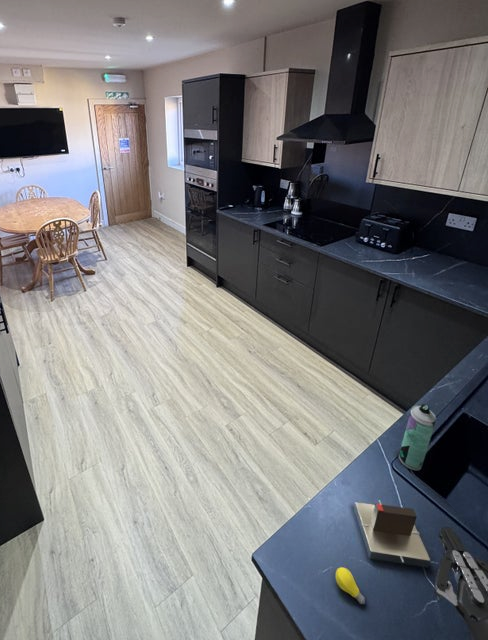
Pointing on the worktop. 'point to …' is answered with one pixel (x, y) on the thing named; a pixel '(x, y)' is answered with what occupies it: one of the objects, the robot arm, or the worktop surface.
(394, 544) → the panel
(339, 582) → the light bulb
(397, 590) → the worktop surface
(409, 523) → the brown rectangular block
